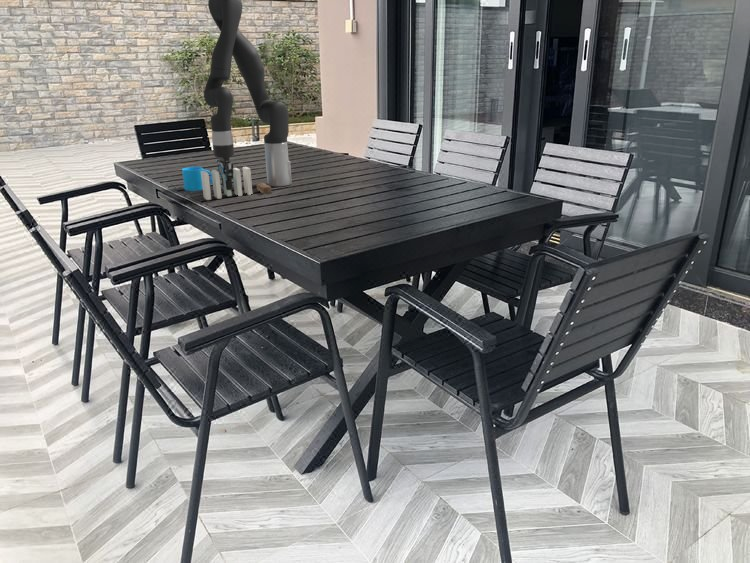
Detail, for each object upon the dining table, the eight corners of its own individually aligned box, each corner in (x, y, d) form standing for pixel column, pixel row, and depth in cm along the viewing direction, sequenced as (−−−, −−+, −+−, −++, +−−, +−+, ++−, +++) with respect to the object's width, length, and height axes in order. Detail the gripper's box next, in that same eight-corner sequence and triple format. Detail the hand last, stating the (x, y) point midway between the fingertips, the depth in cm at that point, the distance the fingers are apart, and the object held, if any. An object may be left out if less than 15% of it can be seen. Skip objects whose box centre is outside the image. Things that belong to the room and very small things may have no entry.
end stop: (264, 189, 246) (263, 183, 245) (271, 193, 238) (271, 186, 237) (256, 190, 244) (256, 183, 243) (264, 194, 237) (263, 187, 236)
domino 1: (207, 197, 234) (205, 170, 230) (211, 199, 230) (208, 172, 226) (203, 197, 233) (200, 171, 230) (207, 200, 229) (204, 173, 226)
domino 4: (238, 193, 239) (236, 167, 236) (242, 195, 235) (240, 169, 231) (234, 193, 238) (232, 168, 235) (238, 196, 234) (235, 170, 231)
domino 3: (228, 193, 237) (225, 167, 234) (231, 195, 233) (229, 169, 229) (224, 193, 236) (221, 167, 233) (227, 196, 232) (225, 169, 229)
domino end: (248, 192, 241) (246, 166, 237) (252, 194, 237) (250, 168, 233) (244, 192, 240) (242, 167, 237) (248, 195, 236) (246, 169, 233)
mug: (186, 191, 244) (183, 171, 241) (182, 188, 251) (180, 168, 248) (216, 188, 249) (214, 168, 246) (212, 184, 256) (209, 165, 253)
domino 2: (218, 195, 236) (215, 169, 232) (221, 198, 232) (219, 171, 228) (214, 196, 235) (211, 170, 231) (217, 198, 231) (214, 172, 227)
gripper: (238, 144, 224) (242, 190, 230) (227, 140, 236) (231, 184, 242) (217, 146, 220) (222, 193, 226) (208, 141, 232) (212, 186, 238)
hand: (227, 188), depth 234 cm, fingers closed on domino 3, 4 cm apart
